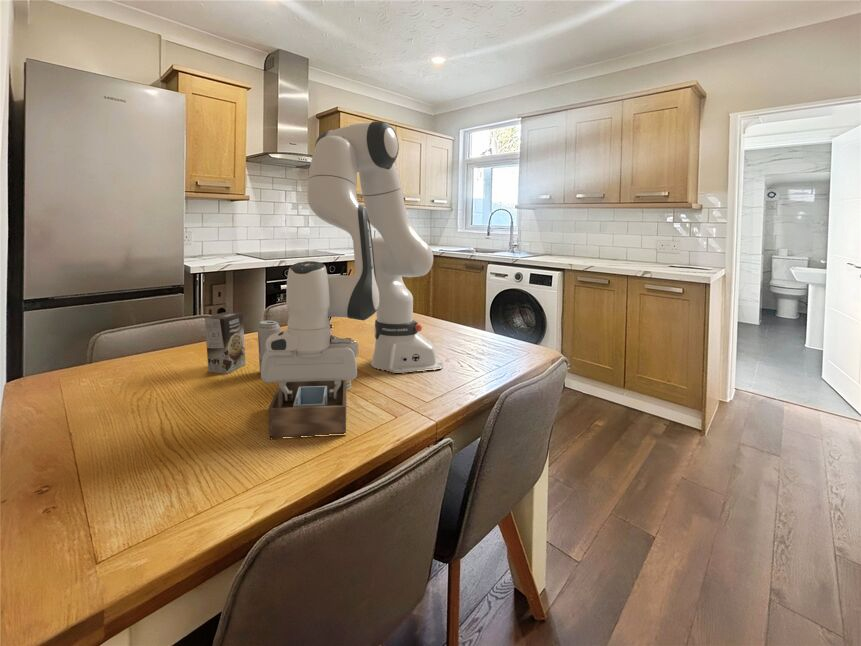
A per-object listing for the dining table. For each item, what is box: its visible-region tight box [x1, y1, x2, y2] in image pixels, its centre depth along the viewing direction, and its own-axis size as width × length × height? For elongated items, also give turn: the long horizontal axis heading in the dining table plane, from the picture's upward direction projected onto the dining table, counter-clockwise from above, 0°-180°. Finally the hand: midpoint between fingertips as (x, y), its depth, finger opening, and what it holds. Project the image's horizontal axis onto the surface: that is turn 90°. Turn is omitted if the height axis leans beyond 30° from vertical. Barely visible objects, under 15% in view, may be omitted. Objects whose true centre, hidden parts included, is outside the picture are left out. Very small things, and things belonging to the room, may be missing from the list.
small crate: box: [293, 386, 328, 407], centre depth 100 cm, size 6×11×5 cm, turn 10°
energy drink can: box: [257, 319, 281, 373], centre depth 128 cm, size 6×6×15 cm
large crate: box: [267, 380, 347, 440], centre depth 100 cm, size 15×17×6 cm
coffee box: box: [204, 311, 246, 375], centre depth 131 cm, size 9×6×16 cm
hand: (311, 398), depth 100 cm, fingers open, 8 cm apart
